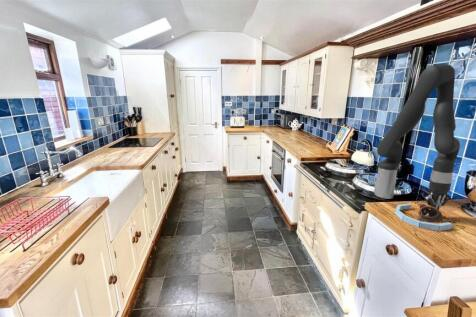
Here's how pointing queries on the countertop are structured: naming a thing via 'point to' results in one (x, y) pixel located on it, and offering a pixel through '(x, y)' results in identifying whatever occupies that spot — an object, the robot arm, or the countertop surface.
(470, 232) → the countertop surface
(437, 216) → the pottery mug
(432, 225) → the collar
